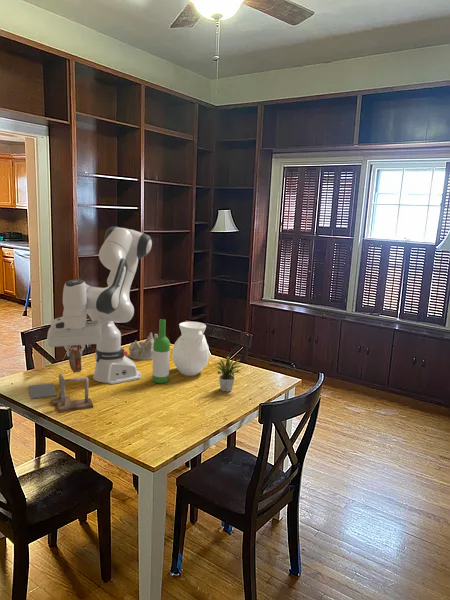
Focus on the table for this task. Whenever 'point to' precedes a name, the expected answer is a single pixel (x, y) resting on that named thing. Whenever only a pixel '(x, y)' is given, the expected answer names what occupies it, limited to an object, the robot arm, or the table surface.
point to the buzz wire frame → (65, 402)
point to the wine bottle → (161, 355)
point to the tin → (75, 360)
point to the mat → (42, 390)
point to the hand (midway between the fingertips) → (74, 355)
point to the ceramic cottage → (143, 348)
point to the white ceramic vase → (191, 348)
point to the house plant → (227, 374)
